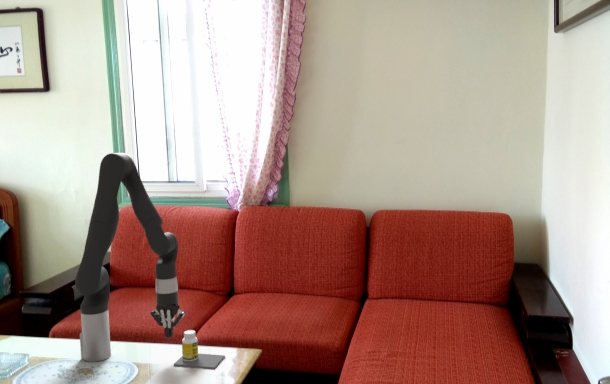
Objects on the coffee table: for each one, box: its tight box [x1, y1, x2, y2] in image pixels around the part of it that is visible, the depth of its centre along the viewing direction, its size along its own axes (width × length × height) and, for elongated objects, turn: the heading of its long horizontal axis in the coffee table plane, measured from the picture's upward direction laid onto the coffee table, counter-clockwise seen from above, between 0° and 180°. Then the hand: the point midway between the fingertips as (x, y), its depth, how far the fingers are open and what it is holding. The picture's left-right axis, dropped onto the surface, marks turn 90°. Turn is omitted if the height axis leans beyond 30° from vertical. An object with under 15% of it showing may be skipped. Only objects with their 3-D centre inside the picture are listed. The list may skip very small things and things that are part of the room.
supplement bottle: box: [181, 329, 199, 361], centre depth 190 cm, size 5×5×10 cm
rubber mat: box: [173, 353, 226, 370], centre depth 190 cm, size 15×10×1 cm, turn 77°
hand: (169, 337), depth 191 cm, fingers closed
